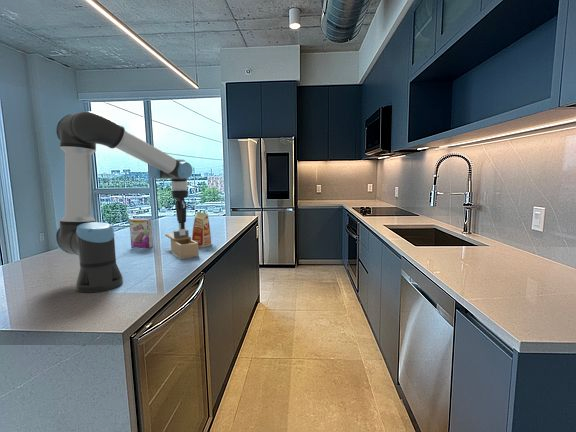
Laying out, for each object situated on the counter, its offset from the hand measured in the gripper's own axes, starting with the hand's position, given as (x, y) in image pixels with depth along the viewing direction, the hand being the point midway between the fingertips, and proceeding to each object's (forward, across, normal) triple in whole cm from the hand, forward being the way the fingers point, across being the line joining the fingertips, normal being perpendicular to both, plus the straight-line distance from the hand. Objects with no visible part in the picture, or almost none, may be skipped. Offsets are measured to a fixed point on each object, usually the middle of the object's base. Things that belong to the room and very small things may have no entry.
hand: (182, 235), depth 169 cm
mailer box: (+10, -3, 0) cm, 10 cm away
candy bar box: (+10, +29, +15) cm, 34 cm away
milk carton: (+10, +13, -15) cm, 22 cm away
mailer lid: (+3, +9, 0) cm, 9 cm away
